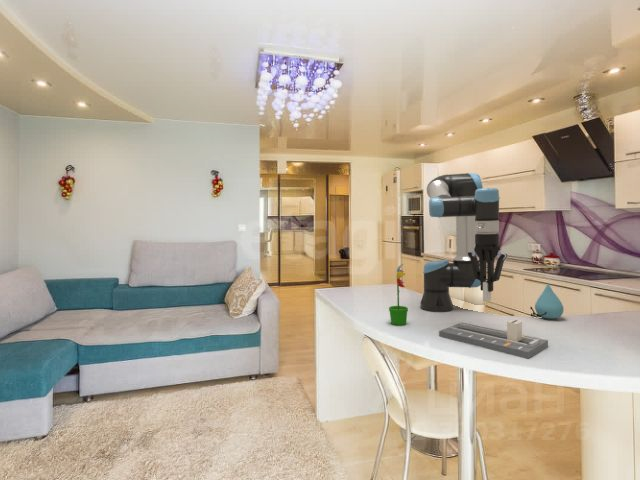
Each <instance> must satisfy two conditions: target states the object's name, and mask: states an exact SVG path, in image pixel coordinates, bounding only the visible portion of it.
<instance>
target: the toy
mask: <svg viewBox="0 0 640 480" xmlns="http://www.w3.org/2000/svg"><path fill="white" fill-rule="evenodd" d="M534 309H535V310H534ZM530 310H532V312H531V313H530V317H536V318H543V319H548V320H554V319H560V317H562V315H563V314H564V305H563V303H562V301H561V300H560V298H559V296H557V294H556V293H555V292H554V290H553V289H552V287H551V285H550V284H549V283H547V284H546V286H545V288H544V290H543V291H542V292H541V294H540V295H539V297H538V298H537V300H536V302H535V305H534V308H533V307H532V306H530Z"/></svg>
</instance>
